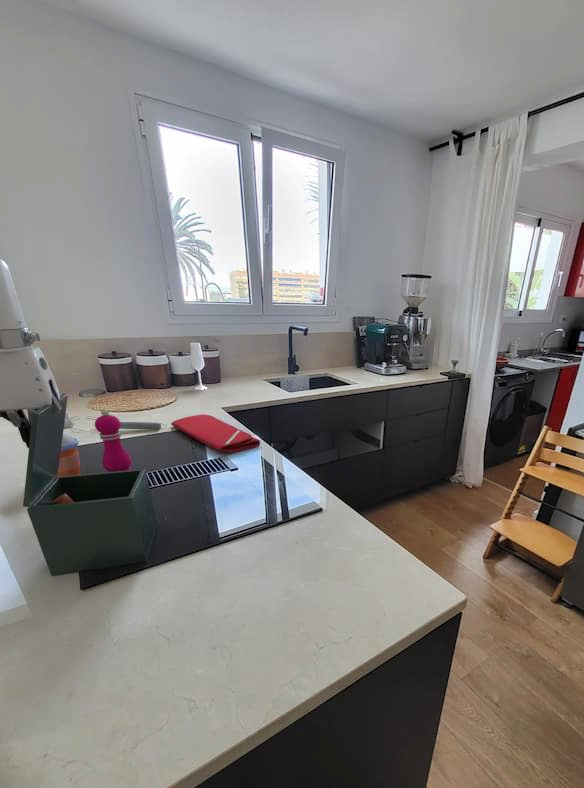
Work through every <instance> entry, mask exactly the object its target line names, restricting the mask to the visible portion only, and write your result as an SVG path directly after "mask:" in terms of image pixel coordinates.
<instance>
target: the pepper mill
mask: <svg viewBox="0 0 584 788" xmlns="http://www.w3.org/2000/svg"><path fill="white" fill-rule="evenodd" d="M100 414H101V415H100V416H98V417H97V418H95V419H96V420H94V428H95V429H96V430H98V431H97V432H98V433H99V436H100V437H99V438H100V440H102V442H103V447H104V448H103V455H102V460H101V463H102V468H103V469H104V470H106V472H115V471H126V470H133V469H132V468H131V465H132V464H133V463H132V457H131V456H130V453H128V452H127V451H126V449H125V447H124V445H123V444H122V441H121V436H122V433H121V429H120V427H121V424H120V422H121V421H120V419H119V418H118V416H115V415H114V414H113V415H112V414H110V412H109V410H107V409H103V410H101V412H100Z"/></svg>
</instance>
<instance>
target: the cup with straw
mask: <svg viewBox="0 0 584 788" xmlns="http://www.w3.org/2000/svg"><path fill="white" fill-rule="evenodd" d="M79 444H80V443H79V440H78V438H76V437H74V436H73V435H72V434H71V433H69V432H66V431H63V438H62V445H61V453H60V461H59V469H58V475H57V476H56V477H59V476H70V475H81V474H82V470H81V459H80V453H79V449H78V447H77V446H78V445H79Z"/></svg>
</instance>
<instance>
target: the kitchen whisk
mask: <svg viewBox="0 0 584 788" xmlns="http://www.w3.org/2000/svg"><path fill="white" fill-rule="evenodd" d="M88 417H89V418H88ZM88 417H86V420H93V421H96V419H97V418H98V417H96V416H94V418H93V416H92V415H91V416H90V415H88ZM90 417H91V418H90ZM74 418H75V421H78V420H79V418H78V415H75V416H73V417H71V418H70V419H71V420H74ZM70 419H69V420H70ZM70 422H71V421H70ZM70 422H68V426H70V425H73V426H74V423H73V424H72V423H71V424H69V423H70ZM120 424H121V427H120V429H119V430H162V429H163V430H164V429H165V428H168V427H167V425H166V424H164V423H161V422H149V421H146V422H145V421H120ZM162 425H164V426H165V427H163V428H162ZM68 426H67V427H66V428H68V429H69V430H71V431H72V432H74V433H77V434H79V431H80V432H83V429H78V432H77V429H75V428H73V426H72V427H71V426H70V427H68ZM95 432H99V431H98V430H96V428H95V429H92V431H91V434H94V433H95Z"/></svg>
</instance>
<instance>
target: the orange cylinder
mask: <svg viewBox="0 0 584 788" xmlns="http://www.w3.org/2000/svg"><path fill="white" fill-rule="evenodd" d="M73 502H74V501H73V500H72V499H71V498H70V497H69V496H68V495H67V494H66V493H64V494H62V495H60V496H59V497H57V498H56V499H54V500H53V501H52V504H53V505H54V504H63V503H73Z"/></svg>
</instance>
